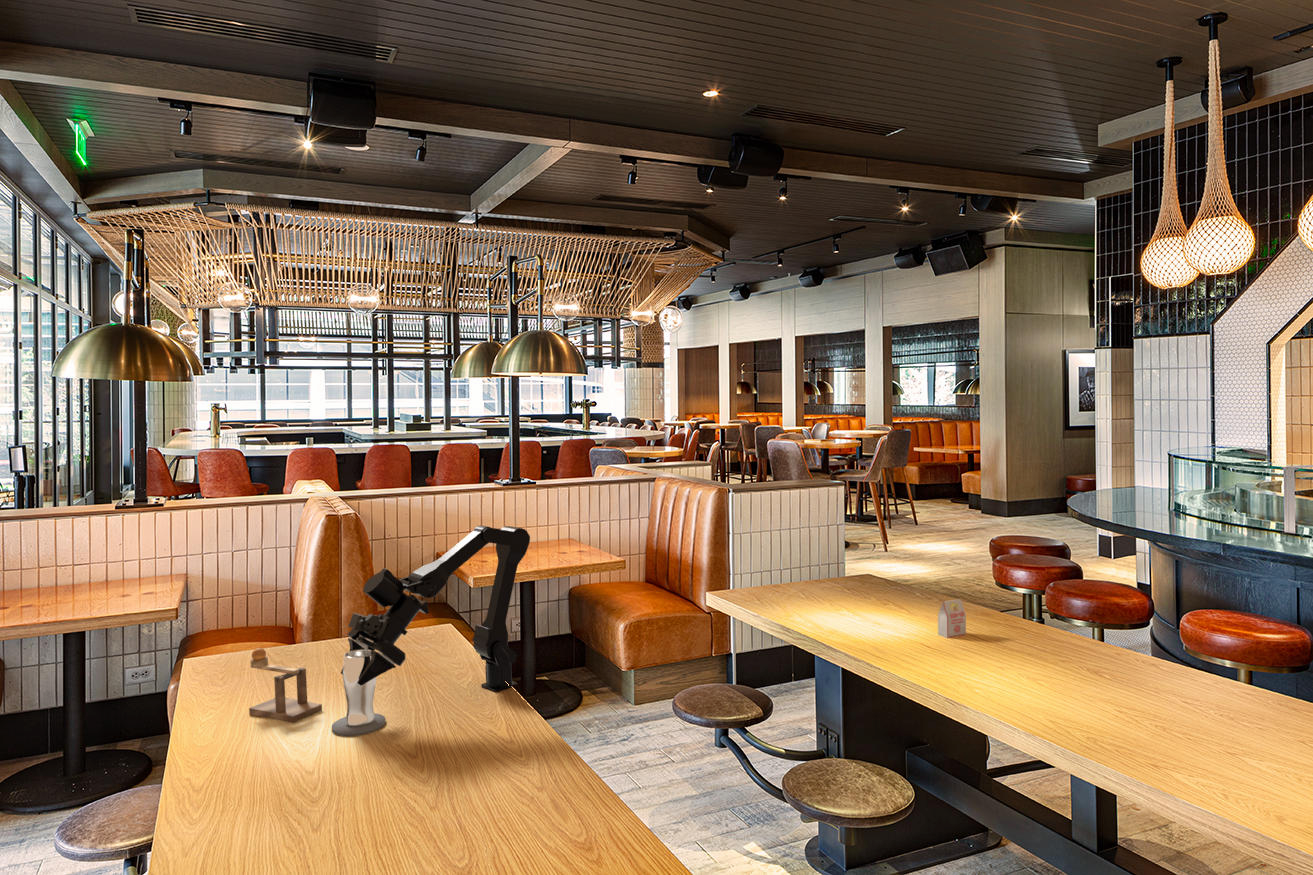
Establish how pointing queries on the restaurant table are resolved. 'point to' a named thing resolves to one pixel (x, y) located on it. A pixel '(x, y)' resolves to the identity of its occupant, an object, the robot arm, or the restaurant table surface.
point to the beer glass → (358, 688)
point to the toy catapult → (283, 693)
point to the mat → (345, 730)
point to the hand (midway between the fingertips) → (350, 679)
